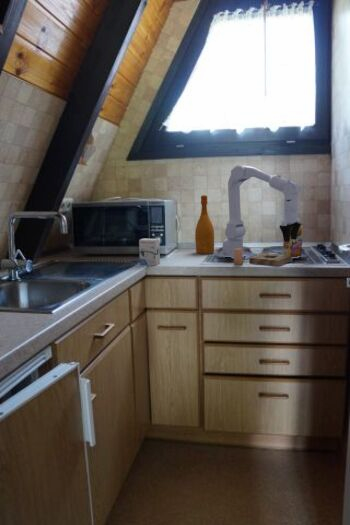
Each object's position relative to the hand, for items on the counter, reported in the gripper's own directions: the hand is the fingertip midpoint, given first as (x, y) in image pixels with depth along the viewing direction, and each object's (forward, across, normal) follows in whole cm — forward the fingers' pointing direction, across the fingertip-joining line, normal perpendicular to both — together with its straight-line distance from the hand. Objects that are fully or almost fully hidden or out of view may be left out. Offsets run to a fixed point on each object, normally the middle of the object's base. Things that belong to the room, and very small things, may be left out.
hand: (290, 240), depth 190 cm
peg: (+10, -15, +18) cm, 26 cm away
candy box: (+10, +10, +3) cm, 15 cm away
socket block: (+10, -3, +8) cm, 13 cm away
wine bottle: (+10, +3, +48) cm, 49 cm away
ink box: (+10, -34, +54) cm, 65 cm away
